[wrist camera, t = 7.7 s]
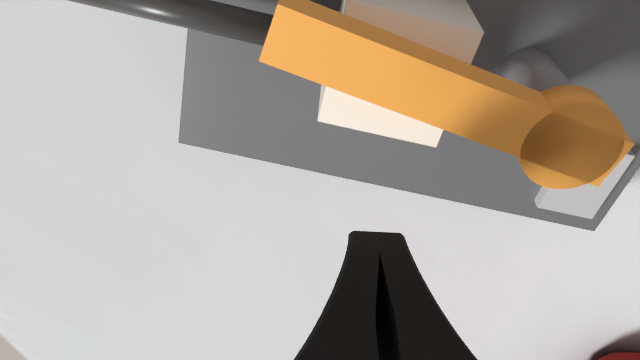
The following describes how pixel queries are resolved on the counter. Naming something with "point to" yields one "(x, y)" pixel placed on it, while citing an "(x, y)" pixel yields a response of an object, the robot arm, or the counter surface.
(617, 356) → the tomato
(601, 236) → the counter surface
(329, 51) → the clip
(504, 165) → the grey piece
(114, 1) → the plug
